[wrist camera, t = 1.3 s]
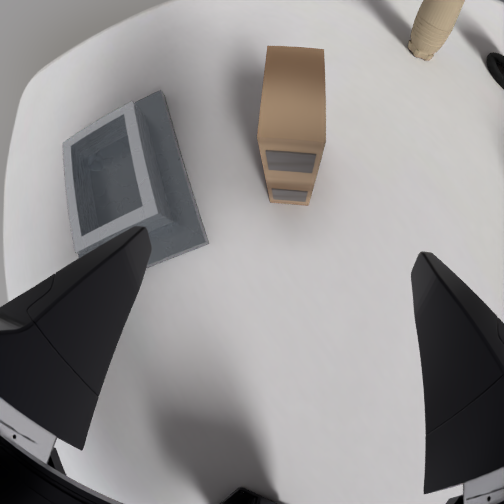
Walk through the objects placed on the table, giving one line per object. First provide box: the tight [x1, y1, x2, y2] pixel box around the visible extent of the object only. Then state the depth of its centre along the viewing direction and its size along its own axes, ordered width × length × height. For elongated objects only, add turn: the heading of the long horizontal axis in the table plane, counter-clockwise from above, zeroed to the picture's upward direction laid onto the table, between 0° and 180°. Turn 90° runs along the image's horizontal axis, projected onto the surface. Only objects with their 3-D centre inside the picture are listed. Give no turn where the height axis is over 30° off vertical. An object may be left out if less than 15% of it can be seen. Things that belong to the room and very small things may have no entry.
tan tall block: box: [257, 46, 326, 206], centre depth 18 cm, size 6×3×11 cm, turn 174°
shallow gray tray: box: [63, 90, 209, 268], centre depth 23 cm, size 16×12×4 cm
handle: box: [408, 0, 465, 61], centre depth 16 cm, size 5×6×15 cm
